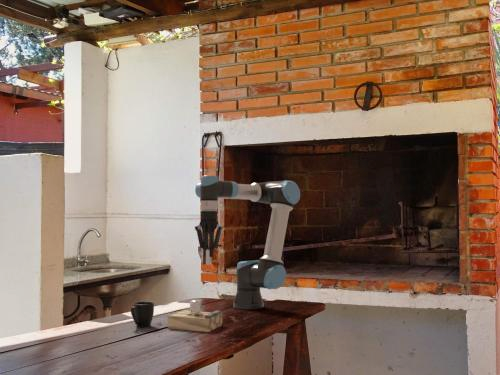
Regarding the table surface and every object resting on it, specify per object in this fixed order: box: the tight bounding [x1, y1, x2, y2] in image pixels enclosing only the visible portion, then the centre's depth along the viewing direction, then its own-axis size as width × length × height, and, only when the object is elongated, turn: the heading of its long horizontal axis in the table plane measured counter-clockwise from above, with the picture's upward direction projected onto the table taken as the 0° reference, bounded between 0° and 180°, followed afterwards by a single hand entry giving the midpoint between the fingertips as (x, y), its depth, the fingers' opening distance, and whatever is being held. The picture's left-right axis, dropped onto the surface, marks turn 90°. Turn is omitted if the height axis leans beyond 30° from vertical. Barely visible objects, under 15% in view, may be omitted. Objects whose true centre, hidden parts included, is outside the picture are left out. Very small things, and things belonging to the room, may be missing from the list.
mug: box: [130, 301, 155, 328], centre depth 229 cm, size 8×12×10 cm
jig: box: [167, 309, 223, 333], centre depth 229 cm, size 14×18×6 cm
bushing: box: [189, 299, 202, 316], centre depth 230 cm, size 4×4×9 cm
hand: (208, 264), depth 242 cm, fingers closed
